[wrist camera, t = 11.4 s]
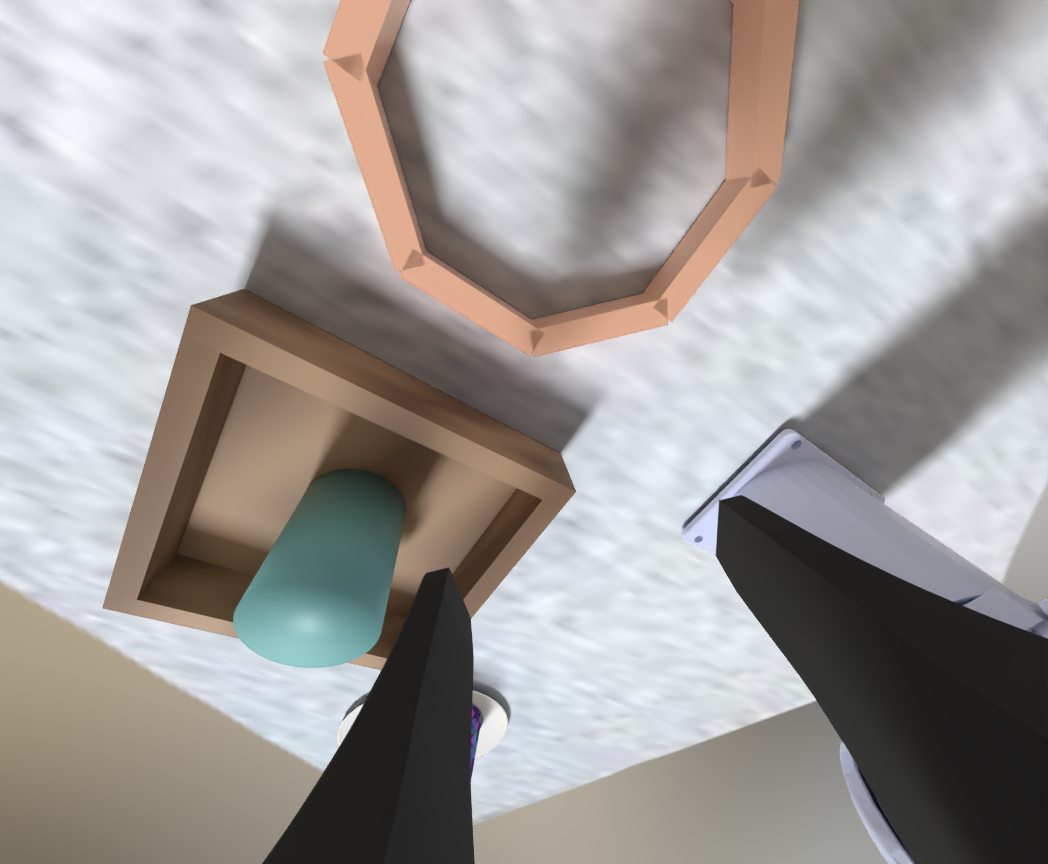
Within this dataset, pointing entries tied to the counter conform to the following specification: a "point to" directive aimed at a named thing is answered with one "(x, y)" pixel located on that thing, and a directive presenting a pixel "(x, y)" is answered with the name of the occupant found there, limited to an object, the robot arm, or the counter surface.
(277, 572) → the teal tapered cylinder
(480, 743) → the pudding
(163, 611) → the tray
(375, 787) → the robot arm
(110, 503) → the counter surface
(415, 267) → the collar
